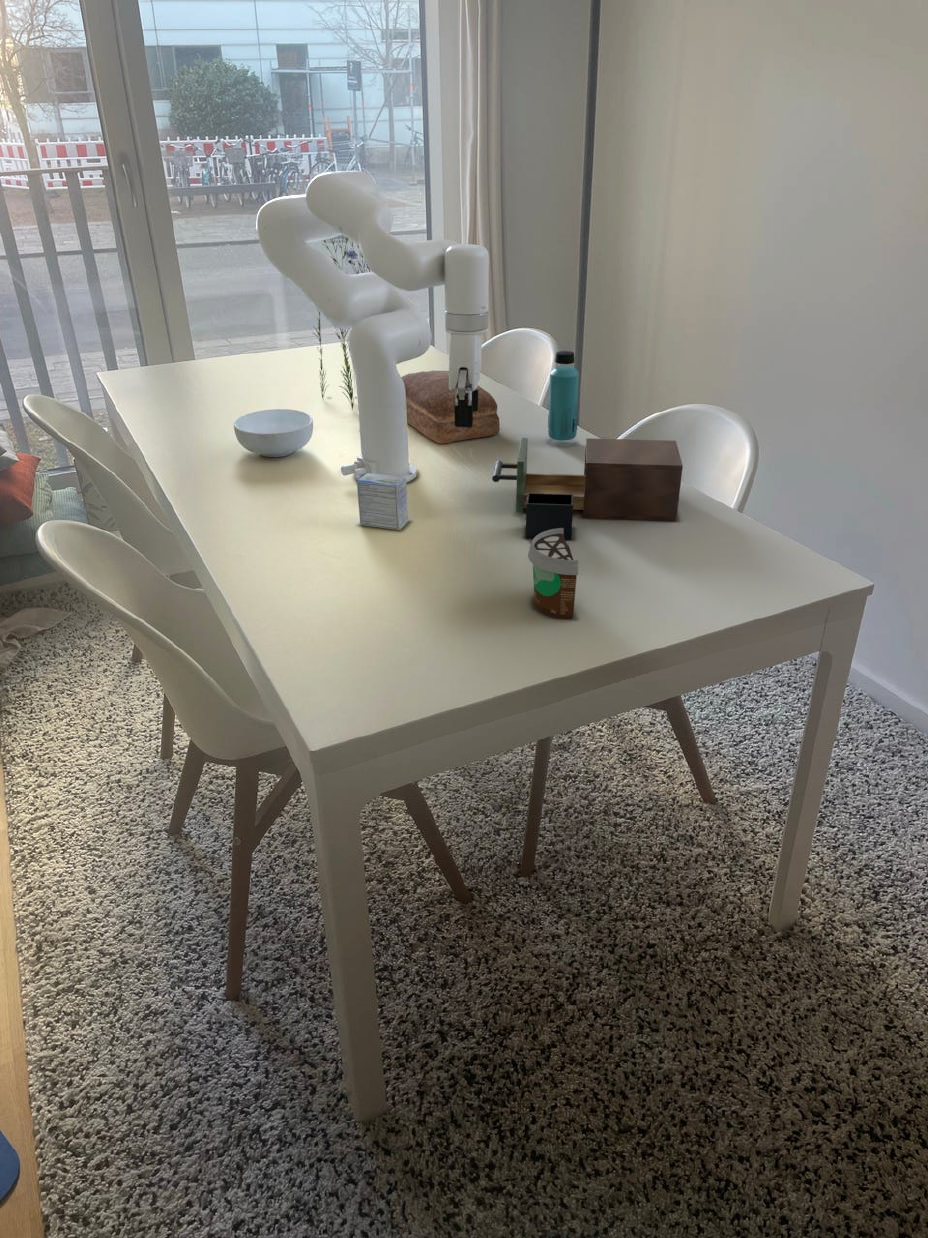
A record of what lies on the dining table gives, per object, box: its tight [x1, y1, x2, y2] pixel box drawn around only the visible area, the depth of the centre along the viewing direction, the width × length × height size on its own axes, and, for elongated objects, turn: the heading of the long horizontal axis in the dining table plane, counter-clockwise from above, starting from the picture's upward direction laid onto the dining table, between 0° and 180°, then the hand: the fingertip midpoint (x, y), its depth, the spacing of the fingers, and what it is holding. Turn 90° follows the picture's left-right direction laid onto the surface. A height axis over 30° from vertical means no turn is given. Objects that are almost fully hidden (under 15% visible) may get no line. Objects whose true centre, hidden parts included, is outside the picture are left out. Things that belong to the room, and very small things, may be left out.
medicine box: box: [356, 473, 409, 531], centre depth 162 cm, size 8×4×9 cm, turn 71°
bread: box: [401, 370, 501, 444], centre depth 212 cm, size 17×29×11 cm, turn 26°
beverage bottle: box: [547, 350, 580, 441], centre depth 197 cm, size 6×7×20 cm
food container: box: [527, 528, 579, 620], centre depth 135 cm, size 12×6×10 cm, turn 5°
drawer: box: [491, 437, 586, 513], centre depth 169 cm, size 22×13×10 cm, turn 84°
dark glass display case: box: [524, 493, 574, 541], centre depth 158 cm, size 8×5×6 cm, turn 84°
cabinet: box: [582, 437, 684, 522], centre depth 168 cm, size 17×14×11 cm
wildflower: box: [312, 235, 371, 411], centre depth 219 cm, size 22×23×45 cm
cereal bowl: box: [233, 408, 314, 458], centre depth 197 cm, size 17×17×7 cm
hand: (466, 418), depth 166 cm, fingers open, 8 cm apart
